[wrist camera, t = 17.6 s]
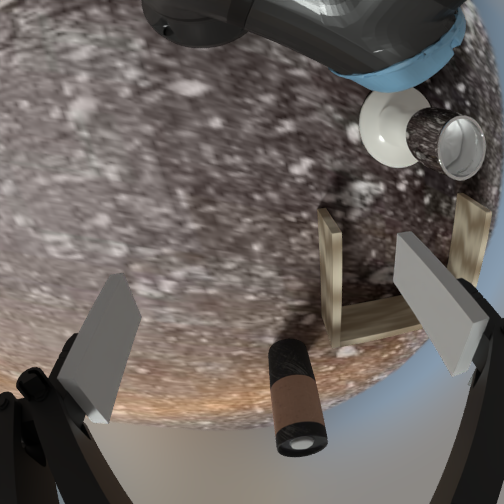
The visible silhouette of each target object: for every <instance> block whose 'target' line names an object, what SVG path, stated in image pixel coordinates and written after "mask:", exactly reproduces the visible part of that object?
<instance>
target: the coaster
mask: <svg viewBox="0 0 504 504" xmlns="http://www.w3.org/2000/svg"><path fill="white" fill-rule="evenodd" d="M391 104H403V105H405V106H407V107H409V108H411V109H417V108H425V107H431V106H430V104H429V103H428V101H427V100H426V98H425V97H424V96H423V95H422V94H421V93H420V92H419V91H418V90H416V89H415V88H413V87H412V88H409V89H407V90H404V91H400V92H392V93H382V92H378V91H372V92H371V93H370V94H369V95H368V97H367V98H366V99H365V101H364V103H363V105H362V107H361V110H360V114H359V133H360V137H361V140H362V142H363V144H364V146H365V148H366V150H367V151H368V152H369V153H370V155H371V156H372V157H374V158H375V159H376V160H377V161H379V162H381V163H382V164H384V165H387V166H390V167H396V168H401V167H407V166H410V165H412V164H415V163H416V162H418V160H417V159H415V158H414V157H413V156H412V155H411V154H410V153H409V152H408V151H407V150H406V149H404V148H403V147H394V146H392V145H390V144H388V143H387V142H385V141H384V139H383V138H382V137H381V135H380V132H379V128H378V120H379V117H380V114H381V112H382V111H383V110H384V109H385V108H386V107H387V106H389V105H391Z"/></svg>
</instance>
